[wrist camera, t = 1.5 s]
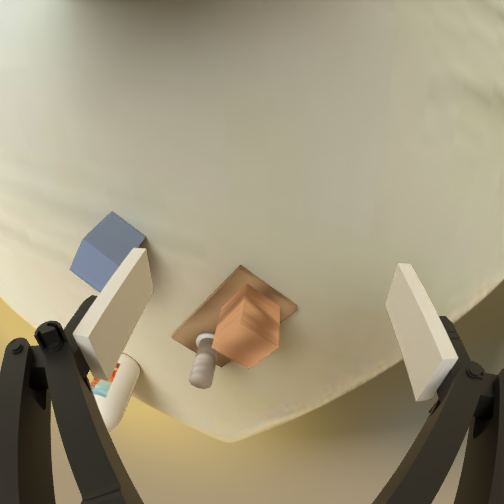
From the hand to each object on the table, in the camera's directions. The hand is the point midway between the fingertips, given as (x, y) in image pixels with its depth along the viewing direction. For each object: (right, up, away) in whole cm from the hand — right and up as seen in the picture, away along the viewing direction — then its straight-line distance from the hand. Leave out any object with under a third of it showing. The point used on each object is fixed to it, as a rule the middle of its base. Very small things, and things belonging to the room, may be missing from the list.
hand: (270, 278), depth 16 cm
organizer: (-4, -9, +31) cm, 32 cm away
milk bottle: (-26, -20, +40) cm, 52 cm away
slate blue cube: (-19, +3, +25) cm, 32 cm away
